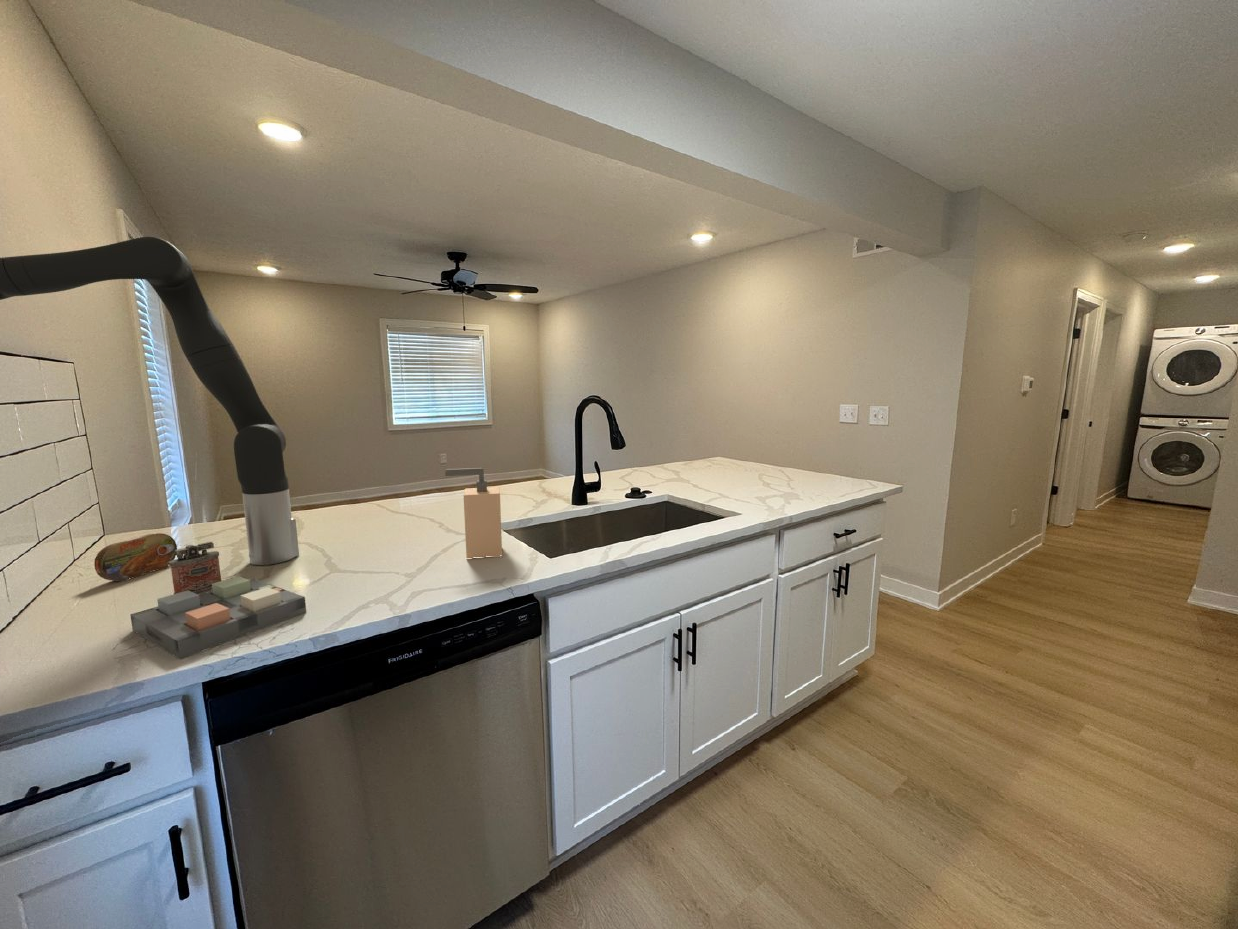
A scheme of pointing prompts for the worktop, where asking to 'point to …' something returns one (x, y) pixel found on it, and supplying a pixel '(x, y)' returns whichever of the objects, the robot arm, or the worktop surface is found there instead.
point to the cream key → (260, 599)
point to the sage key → (230, 587)
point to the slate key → (178, 602)
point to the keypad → (187, 641)
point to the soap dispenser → (481, 516)
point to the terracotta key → (207, 616)
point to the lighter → (195, 569)
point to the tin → (135, 556)
